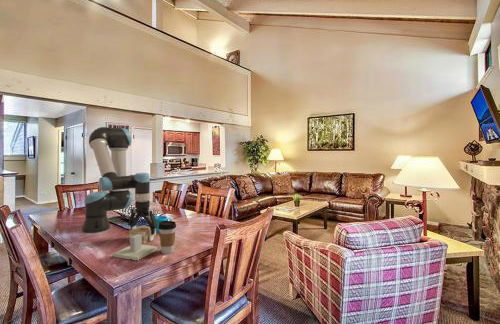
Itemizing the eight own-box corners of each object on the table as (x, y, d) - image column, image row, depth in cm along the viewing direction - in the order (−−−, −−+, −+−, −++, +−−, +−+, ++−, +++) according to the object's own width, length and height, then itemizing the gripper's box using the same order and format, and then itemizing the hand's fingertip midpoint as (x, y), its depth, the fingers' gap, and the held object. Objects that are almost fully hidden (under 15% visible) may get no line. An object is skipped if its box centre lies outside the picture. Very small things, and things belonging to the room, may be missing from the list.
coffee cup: (161, 248, 133) (160, 219, 132) (177, 248, 134) (177, 219, 133) (156, 255, 125) (156, 224, 124) (174, 254, 125) (174, 224, 125)
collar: (144, 243, 140) (144, 232, 140) (129, 241, 143) (128, 230, 142) (155, 237, 149) (155, 227, 149) (141, 235, 152) (141, 225, 152)
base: (113, 256, 122) (113, 239, 122) (134, 246, 136) (134, 230, 135) (137, 260, 118) (137, 242, 118) (157, 249, 132) (157, 233, 131)
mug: (156, 233, 157) (156, 220, 157) (151, 230, 163) (151, 217, 163) (175, 229, 165) (175, 216, 165) (169, 226, 171) (169, 214, 171)
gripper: (120, 200, 145) (121, 238, 146) (155, 203, 138) (156, 243, 139) (130, 197, 152) (130, 234, 153) (164, 200, 145) (164, 239, 146)
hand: (142, 238), depth 146 cm, fingers open, 11 cm apart
